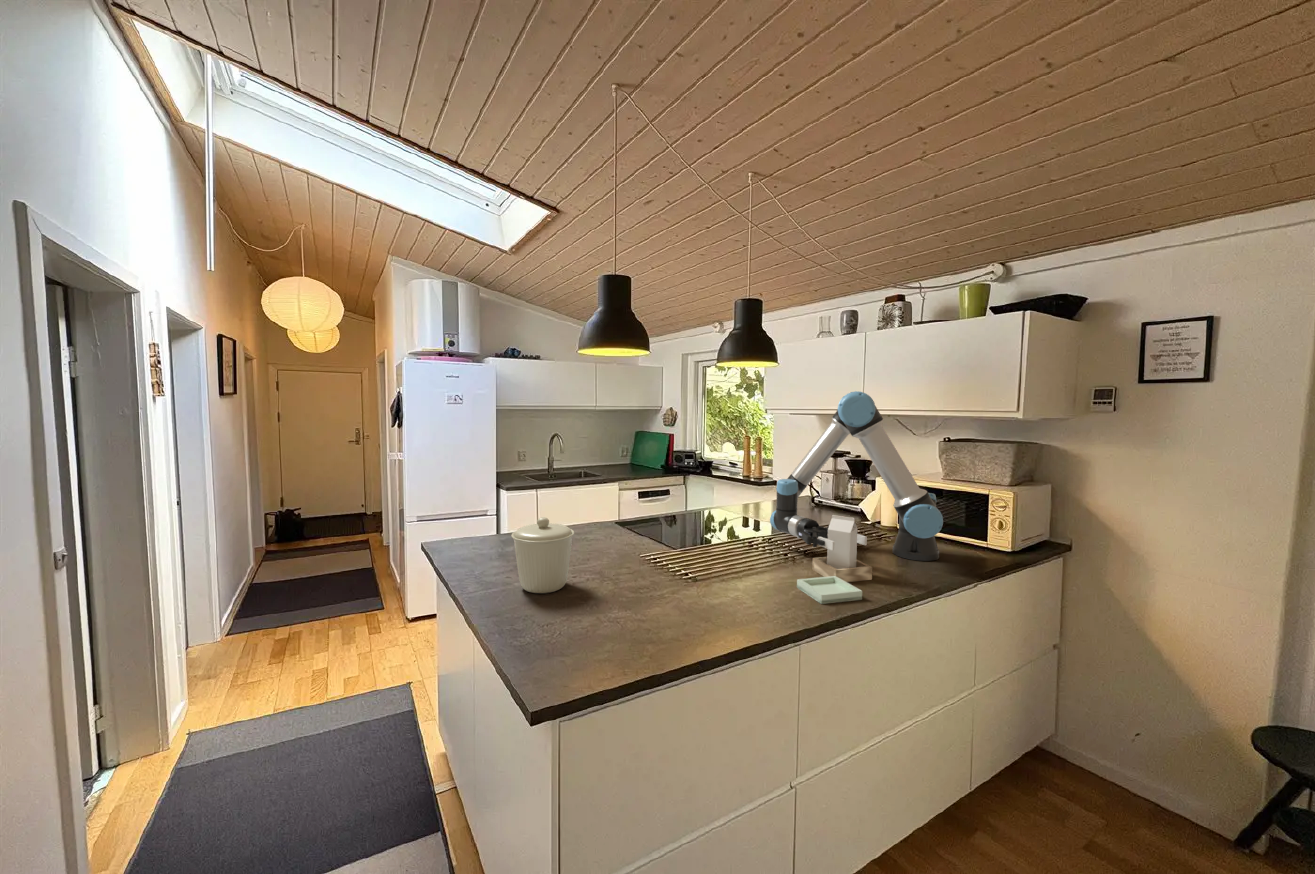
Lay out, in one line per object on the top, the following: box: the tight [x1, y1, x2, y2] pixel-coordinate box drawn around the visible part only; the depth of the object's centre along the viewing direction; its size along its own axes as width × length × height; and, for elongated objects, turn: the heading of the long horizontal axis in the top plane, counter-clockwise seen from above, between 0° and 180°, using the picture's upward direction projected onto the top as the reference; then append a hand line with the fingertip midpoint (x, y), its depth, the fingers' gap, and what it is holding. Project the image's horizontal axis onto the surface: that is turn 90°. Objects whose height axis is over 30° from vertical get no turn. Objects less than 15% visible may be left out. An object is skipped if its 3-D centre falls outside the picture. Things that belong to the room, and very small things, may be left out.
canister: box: [511, 517, 575, 594], centre depth 156 cm, size 18×18×21 cm
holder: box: [811, 556, 873, 583], centre depth 170 cm, size 13×13×4 cm
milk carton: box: [826, 514, 858, 569], centre depth 169 cm, size 7×7×19 cm
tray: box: [796, 576, 863, 605], centre depth 153 cm, size 13×13×2 cm
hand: (850, 543), depth 166 cm, fingers open, 13 cm apart
